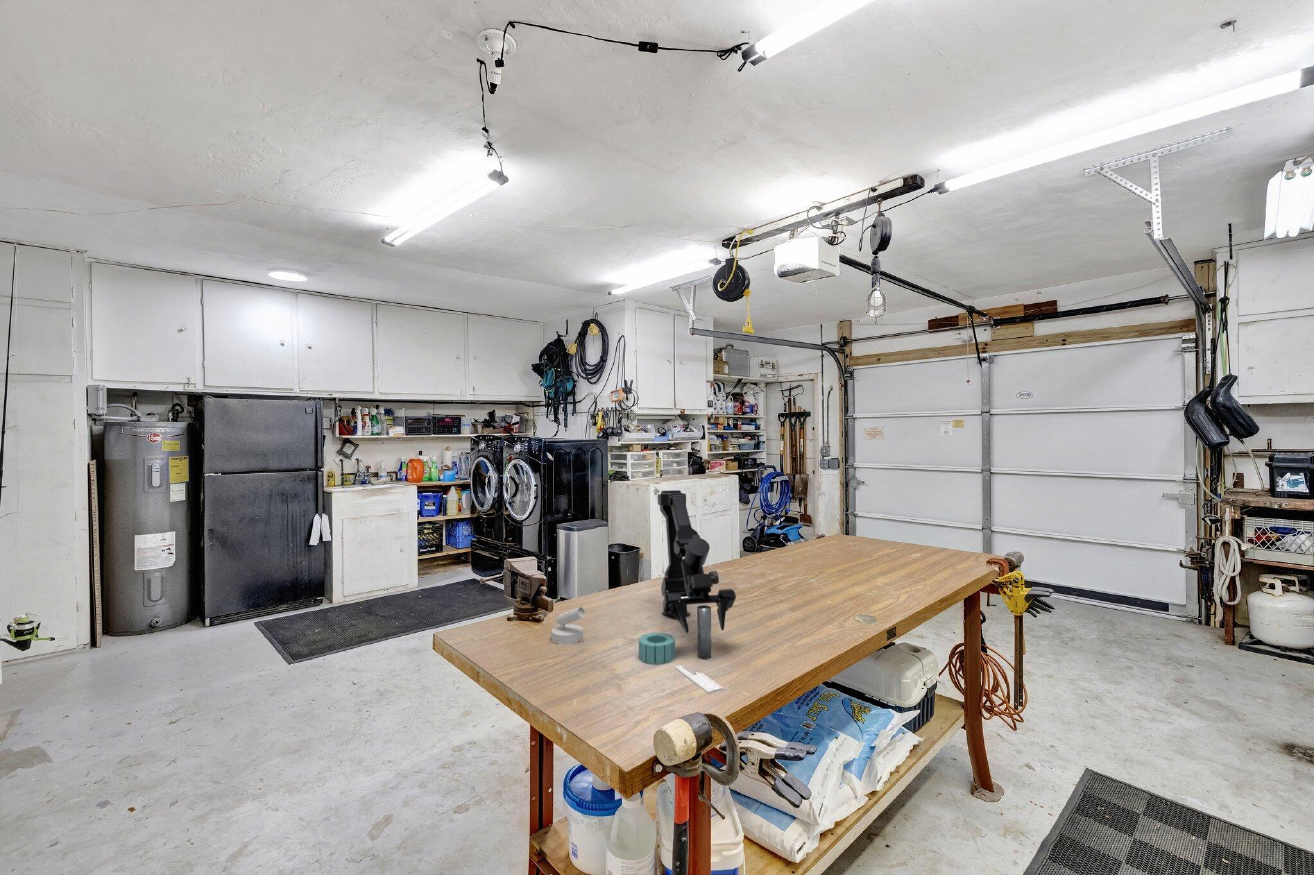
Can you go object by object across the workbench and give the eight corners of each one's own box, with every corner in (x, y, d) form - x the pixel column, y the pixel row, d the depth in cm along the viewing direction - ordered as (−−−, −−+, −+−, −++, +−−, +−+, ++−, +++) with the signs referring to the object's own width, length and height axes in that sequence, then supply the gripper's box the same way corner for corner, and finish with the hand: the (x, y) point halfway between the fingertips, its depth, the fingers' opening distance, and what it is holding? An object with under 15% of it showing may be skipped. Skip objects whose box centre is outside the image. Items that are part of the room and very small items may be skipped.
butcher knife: (692, 665, 136) (692, 661, 136) (727, 691, 123) (727, 686, 123) (674, 669, 134) (674, 665, 134) (707, 695, 120) (707, 690, 120)
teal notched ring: (632, 655, 141) (631, 638, 141) (659, 647, 147) (659, 630, 147) (654, 667, 134) (654, 648, 134) (681, 657, 140) (681, 639, 140)
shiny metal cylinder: (694, 656, 141) (694, 607, 141) (704, 652, 143) (704, 604, 143) (704, 660, 138) (703, 610, 138) (714, 656, 140) (713, 607, 140)
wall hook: (573, 612, 147) (544, 606, 152) (573, 647, 147) (545, 640, 152) (592, 603, 154) (565, 598, 159) (593, 637, 154) (565, 631, 159)
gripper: (664, 561, 143) (673, 618, 132) (733, 558, 146) (748, 613, 135) (659, 584, 151) (667, 639, 140) (724, 580, 154) (738, 634, 143)
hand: (705, 631), depth 139 cm, fingers open, 9 cm apart
